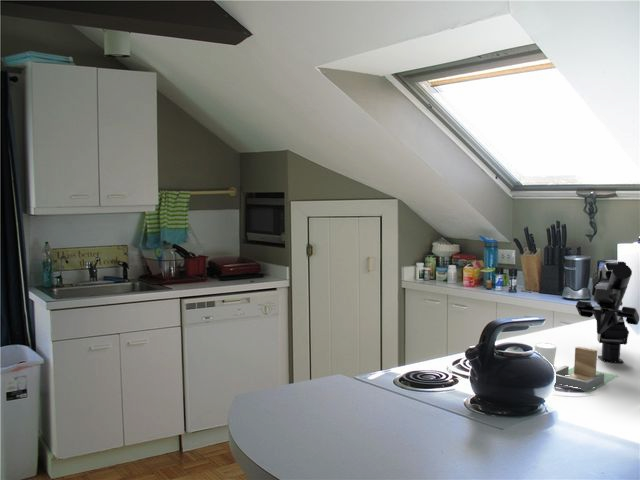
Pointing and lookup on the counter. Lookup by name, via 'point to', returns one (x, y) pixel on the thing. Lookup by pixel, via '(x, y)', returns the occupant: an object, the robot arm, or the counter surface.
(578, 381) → the pocket
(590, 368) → the bookend
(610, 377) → the mat
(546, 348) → the white cup
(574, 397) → the counter surface
